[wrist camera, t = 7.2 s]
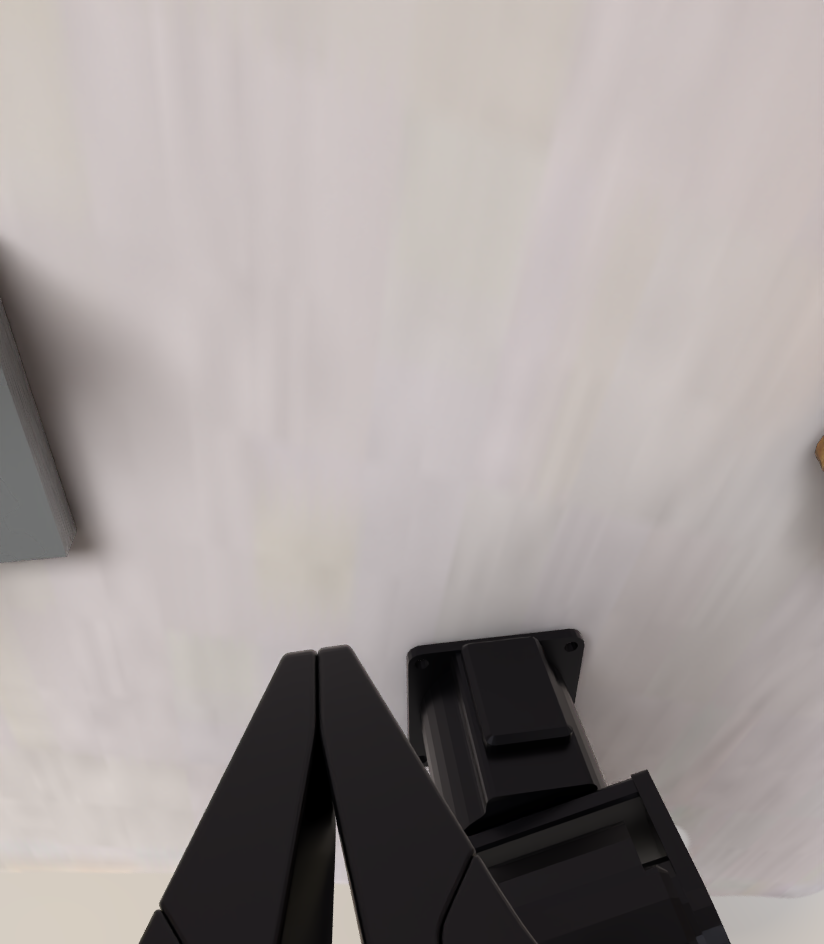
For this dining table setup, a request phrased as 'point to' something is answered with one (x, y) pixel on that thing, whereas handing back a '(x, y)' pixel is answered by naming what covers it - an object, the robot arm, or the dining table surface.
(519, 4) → the dining table surface
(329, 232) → the dining table surface
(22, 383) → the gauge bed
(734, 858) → the dining table surface
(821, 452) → the wooden carving
